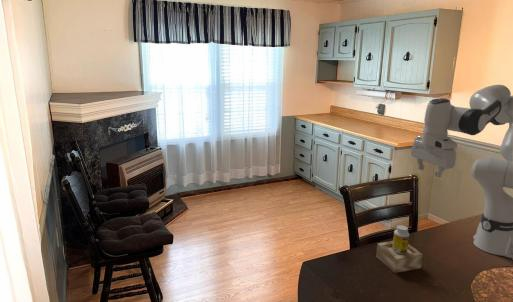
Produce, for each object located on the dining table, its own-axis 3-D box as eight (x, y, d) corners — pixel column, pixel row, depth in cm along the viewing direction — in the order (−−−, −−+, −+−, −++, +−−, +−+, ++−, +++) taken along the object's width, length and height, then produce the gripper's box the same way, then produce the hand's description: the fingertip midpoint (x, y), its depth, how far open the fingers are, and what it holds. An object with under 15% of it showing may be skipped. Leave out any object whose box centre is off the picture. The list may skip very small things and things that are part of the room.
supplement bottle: (401, 256, 136) (404, 232, 134) (389, 249, 141) (391, 226, 138) (409, 252, 139) (413, 228, 137) (397, 246, 144) (400, 223, 141)
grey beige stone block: (400, 252, 149) (402, 239, 147) (420, 268, 137) (422, 254, 136) (375, 256, 145) (377, 243, 144) (394, 272, 134) (396, 258, 133)
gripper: (409, 134, 149) (405, 166, 152) (447, 146, 130) (442, 181, 133) (421, 134, 151) (417, 165, 154) (461, 145, 132) (455, 180, 135)
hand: (429, 172), depth 144 cm, fingers open, 8 cm apart
